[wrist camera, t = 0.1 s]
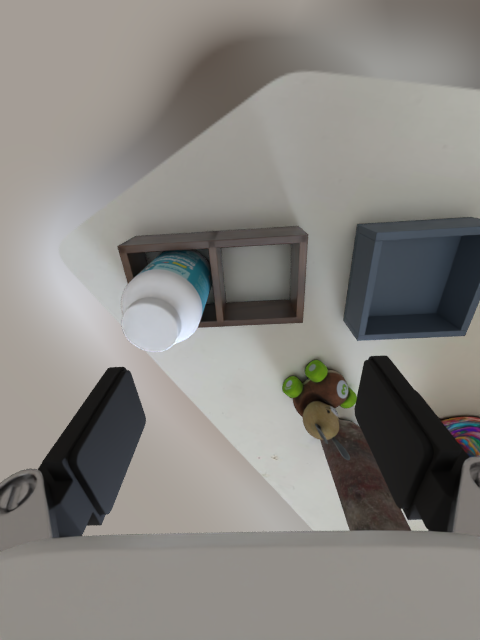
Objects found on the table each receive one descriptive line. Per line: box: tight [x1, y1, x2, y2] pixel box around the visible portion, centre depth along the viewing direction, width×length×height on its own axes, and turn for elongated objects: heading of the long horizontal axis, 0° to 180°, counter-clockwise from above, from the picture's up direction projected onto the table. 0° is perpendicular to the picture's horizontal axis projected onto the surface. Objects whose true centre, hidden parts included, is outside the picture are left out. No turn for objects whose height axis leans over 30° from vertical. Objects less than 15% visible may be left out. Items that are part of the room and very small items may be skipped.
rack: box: [118, 226, 308, 328], centre depth 31 cm, size 10×19×5 cm, turn 94°
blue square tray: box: [344, 217, 480, 341], centre depth 31 cm, size 13×13×5 cm
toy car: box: [282, 360, 357, 460], centre depth 37 cm, size 9×9×11 cm
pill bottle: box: [121, 249, 212, 352], centre depth 27 cm, size 8×7×14 cm
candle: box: [320, 419, 411, 531], centre depth 38 cm, size 8×7×20 cm
